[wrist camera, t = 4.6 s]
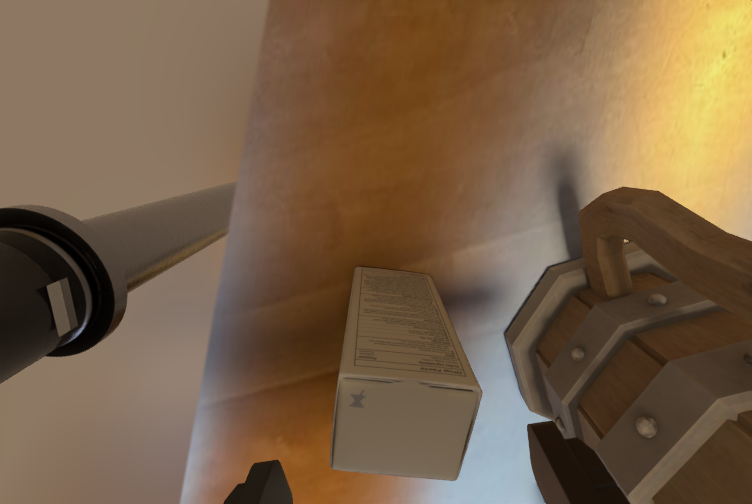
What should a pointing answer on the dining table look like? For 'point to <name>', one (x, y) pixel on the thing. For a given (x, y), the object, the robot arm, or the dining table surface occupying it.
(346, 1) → the dining table surface
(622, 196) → the tankard
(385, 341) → the box
